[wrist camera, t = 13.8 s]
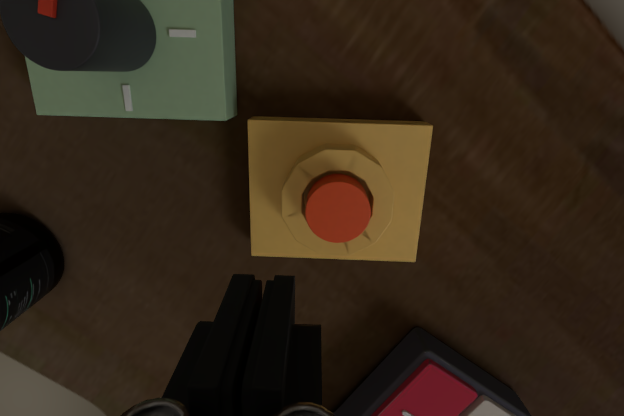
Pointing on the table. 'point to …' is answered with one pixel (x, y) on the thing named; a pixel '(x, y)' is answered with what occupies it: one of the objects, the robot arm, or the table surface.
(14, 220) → the supplement bottle
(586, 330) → the table surface
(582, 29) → the table surface
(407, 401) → the calculator
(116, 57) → the lock dial
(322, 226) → the button
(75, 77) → the dial panel
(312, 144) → the tan flat block
